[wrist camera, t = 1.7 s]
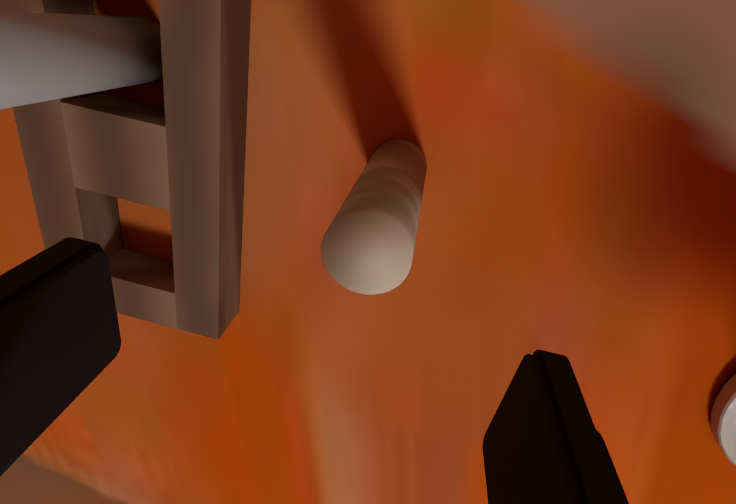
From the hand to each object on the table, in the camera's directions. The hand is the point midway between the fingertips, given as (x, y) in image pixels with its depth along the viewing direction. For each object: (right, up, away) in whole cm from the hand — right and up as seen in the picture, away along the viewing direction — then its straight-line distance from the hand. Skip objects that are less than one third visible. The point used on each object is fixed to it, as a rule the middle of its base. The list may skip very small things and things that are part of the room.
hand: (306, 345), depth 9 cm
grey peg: (-10, +12, +12) cm, 20 cm away
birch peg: (+3, +7, +13) cm, 15 cm away
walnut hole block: (-11, +8, +15) cm, 20 cm away
